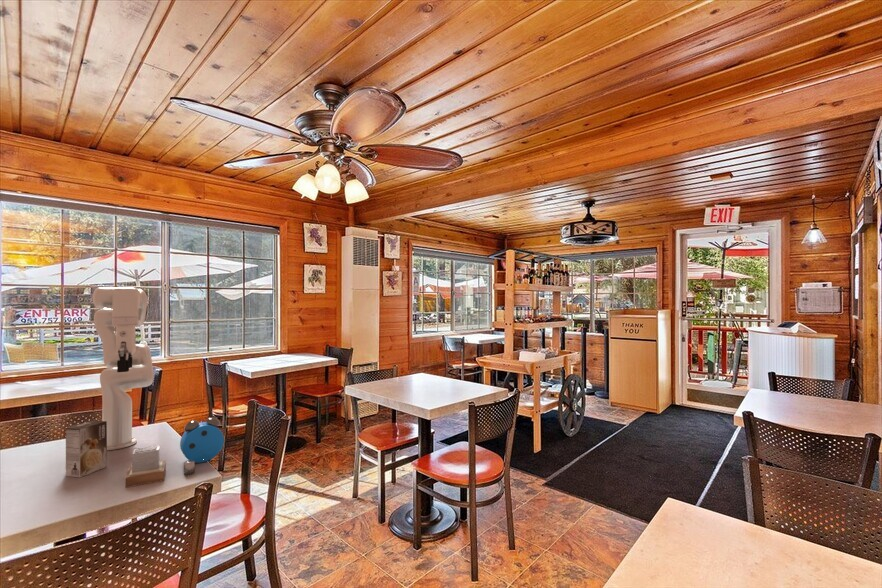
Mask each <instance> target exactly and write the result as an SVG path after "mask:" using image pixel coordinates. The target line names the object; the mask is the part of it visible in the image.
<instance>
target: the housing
mask: <svg viewBox="0 0 882 588" xmlns="http://www.w3.org/2000/svg"><path fill="white" fill-rule="evenodd" d="M160 446H161V445H151V446H146V447H140V448H134V449H133V450H132V453H131V466H132V473H134V472H140V471H146V470H151V469H157V468H159V463H160V462H161V461H160V456H161V455H160V451H161V450H160Z"/></svg>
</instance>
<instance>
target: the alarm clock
mask: <svg viewBox="0 0 882 588" xmlns="http://www.w3.org/2000/svg"><path fill="white" fill-rule="evenodd" d="M220 425H221V422H220V420H219V419H218V418H217V417H216V416H215V417H208V418H207V419H206V420H204V419H203V420H200V422H199V420H194V419H193V420H189V421H188V422H187V423H186V424H185V425H184V428H183V430H184V432H183V434H182V436H181V438H180V442H179V448H180V450H181V452H182V454H183V456H184V458H186V459H187V461H188V460H195V464H196V463H197V464H198V463H200V464H201V463H206V462H208V461H210V460H212V459H214V458H215V457H216V456H217V455H218V454H220V452H221V451H222V449H223V446H224V442H225V440H224V439H225V438H224V434H223V432H222V430H221V429H220V428H219V426H220ZM203 459H204V460H203ZM205 461H206V462H205Z"/></svg>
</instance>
